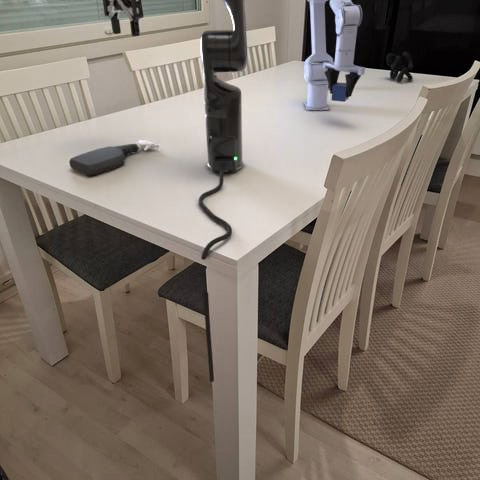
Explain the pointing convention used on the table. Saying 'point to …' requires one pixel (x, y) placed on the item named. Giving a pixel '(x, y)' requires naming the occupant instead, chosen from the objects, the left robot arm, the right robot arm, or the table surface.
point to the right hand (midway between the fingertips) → (340, 94)
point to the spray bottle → (106, 157)
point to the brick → (339, 92)
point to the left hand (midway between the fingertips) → (126, 34)
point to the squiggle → (399, 66)
